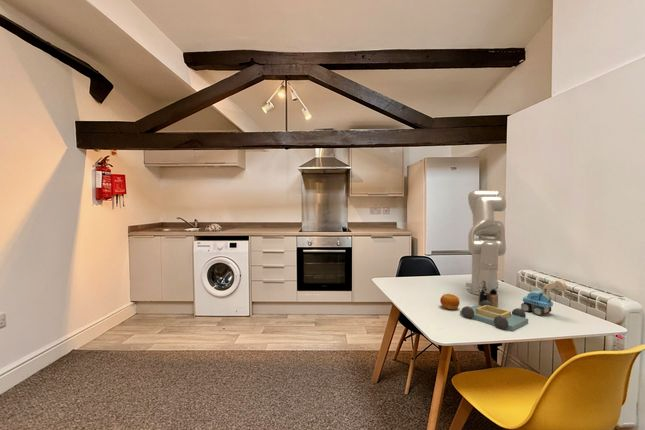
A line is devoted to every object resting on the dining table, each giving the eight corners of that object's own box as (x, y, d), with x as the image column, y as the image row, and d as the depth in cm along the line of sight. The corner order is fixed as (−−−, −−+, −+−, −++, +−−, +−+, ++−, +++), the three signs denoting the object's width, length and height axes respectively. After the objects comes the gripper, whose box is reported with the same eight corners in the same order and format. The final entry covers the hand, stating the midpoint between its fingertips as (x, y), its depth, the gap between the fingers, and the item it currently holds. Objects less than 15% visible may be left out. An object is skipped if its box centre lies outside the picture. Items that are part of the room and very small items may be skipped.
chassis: (458, 315, 138) (458, 304, 138) (478, 308, 148) (478, 298, 148) (510, 332, 120) (511, 319, 120) (529, 322, 130) (529, 311, 130)
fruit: (463, 300, 149) (454, 287, 148) (462, 311, 142) (452, 297, 141) (447, 304, 154) (438, 292, 153) (445, 315, 147) (436, 302, 146)
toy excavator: (558, 322, 131) (559, 282, 131) (518, 310, 146) (519, 274, 146) (568, 318, 135) (569, 280, 135) (528, 307, 150) (529, 273, 149)
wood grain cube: (478, 305, 153) (478, 293, 152) (483, 303, 156) (483, 291, 155) (492, 309, 147) (493, 297, 147) (497, 307, 150) (497, 295, 150)
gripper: (490, 264, 158) (489, 296, 159) (472, 267, 148) (471, 301, 149) (505, 266, 152) (504, 300, 152) (488, 269, 142) (487, 305, 142)
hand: (488, 301), depth 150 cm, fingers open, 9 cm apart
